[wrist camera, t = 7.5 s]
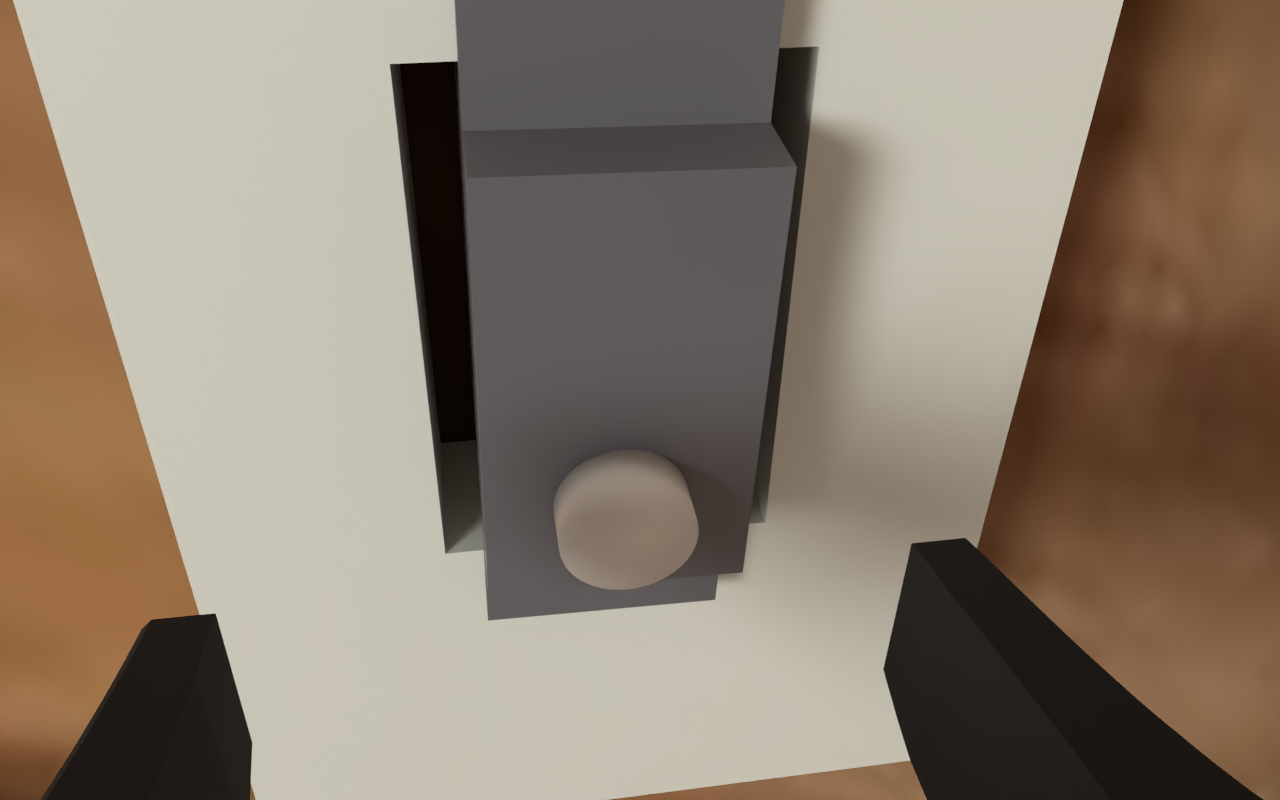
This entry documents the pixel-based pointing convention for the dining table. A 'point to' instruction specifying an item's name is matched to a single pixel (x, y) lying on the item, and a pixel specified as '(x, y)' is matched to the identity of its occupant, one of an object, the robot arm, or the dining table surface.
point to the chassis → (448, 472)
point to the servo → (618, 290)
